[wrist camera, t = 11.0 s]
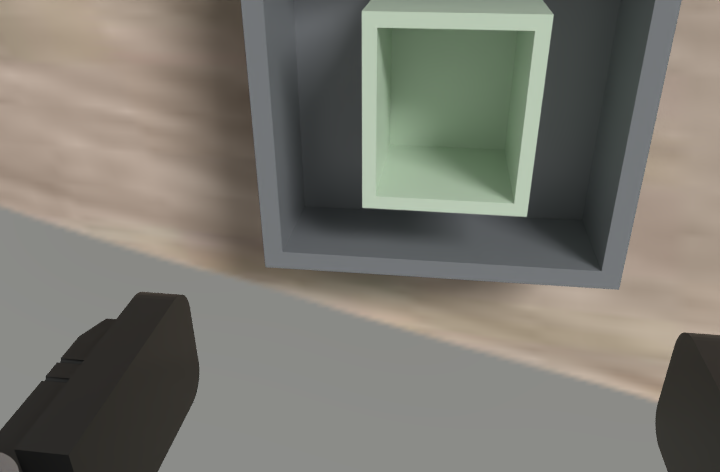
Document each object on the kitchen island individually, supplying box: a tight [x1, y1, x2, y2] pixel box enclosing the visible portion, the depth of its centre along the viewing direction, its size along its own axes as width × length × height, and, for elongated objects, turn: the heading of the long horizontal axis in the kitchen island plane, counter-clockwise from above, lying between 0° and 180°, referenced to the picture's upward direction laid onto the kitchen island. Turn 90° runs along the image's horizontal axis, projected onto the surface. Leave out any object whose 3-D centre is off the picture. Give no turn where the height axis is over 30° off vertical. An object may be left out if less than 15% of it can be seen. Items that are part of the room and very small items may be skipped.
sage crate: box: [362, 0, 554, 217], centre depth 24 cm, size 6×7×6 cm
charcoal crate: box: [241, 0, 682, 290], centre depth 26 cm, size 15×15×6 cm
